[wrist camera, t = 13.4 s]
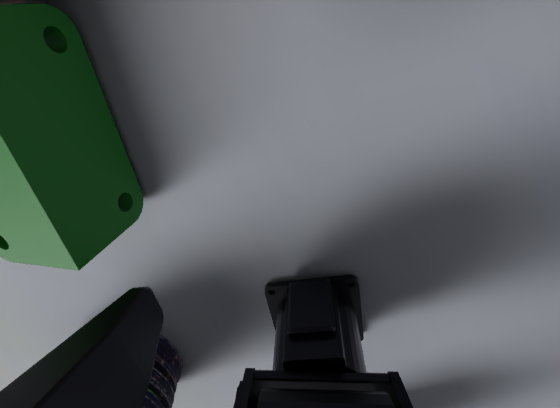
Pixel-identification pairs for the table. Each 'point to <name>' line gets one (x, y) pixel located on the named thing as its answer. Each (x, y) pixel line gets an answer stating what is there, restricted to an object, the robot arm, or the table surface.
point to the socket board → (9, 1)
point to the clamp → (57, 146)
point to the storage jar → (163, 376)
